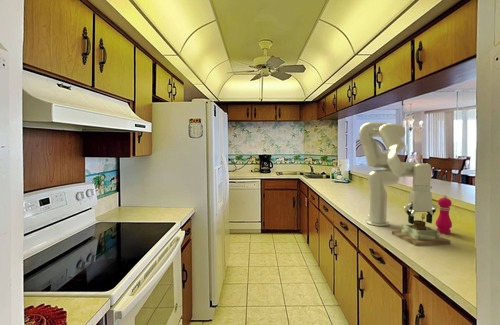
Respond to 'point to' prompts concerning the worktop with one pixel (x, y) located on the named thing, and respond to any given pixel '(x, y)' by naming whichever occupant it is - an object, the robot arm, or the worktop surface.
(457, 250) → the worktop surface
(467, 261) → the worktop surface
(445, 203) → the pepper mill
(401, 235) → the collar stand
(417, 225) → the utensil holder
